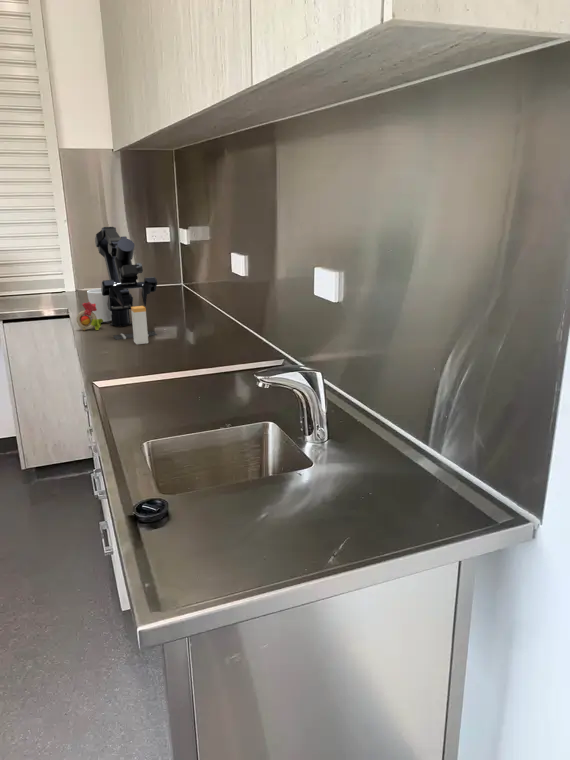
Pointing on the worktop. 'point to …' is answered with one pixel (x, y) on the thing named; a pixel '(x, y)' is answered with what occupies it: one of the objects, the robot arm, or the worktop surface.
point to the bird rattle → (85, 319)
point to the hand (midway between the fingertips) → (134, 306)
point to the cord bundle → (131, 335)
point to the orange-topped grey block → (139, 324)
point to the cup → (100, 305)
